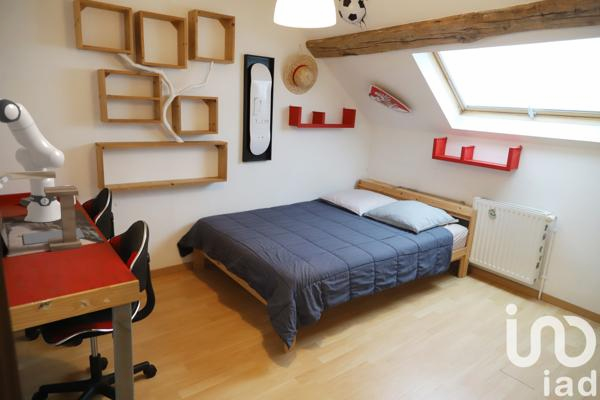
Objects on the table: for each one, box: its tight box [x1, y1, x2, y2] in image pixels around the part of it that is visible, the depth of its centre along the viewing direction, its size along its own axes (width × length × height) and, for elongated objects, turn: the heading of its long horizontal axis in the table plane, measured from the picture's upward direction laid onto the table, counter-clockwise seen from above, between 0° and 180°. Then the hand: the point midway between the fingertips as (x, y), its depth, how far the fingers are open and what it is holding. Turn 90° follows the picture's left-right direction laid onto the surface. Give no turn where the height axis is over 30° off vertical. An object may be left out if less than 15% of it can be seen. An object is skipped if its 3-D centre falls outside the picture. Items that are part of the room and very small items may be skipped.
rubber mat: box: [22, 227, 85, 246], centre depth 196 cm, size 16×24×1 cm, turn 125°
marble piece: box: [19, 196, 31, 208], centre depth 248 cm, size 17×15×4 cm
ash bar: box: [1, 170, 57, 181], centre depth 185 cm, size 3×20×3 cm, turn 125°
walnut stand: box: [44, 185, 83, 252], centre depth 183 cm, size 12×12×26 cm
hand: (11, 174), depth 181 cm, fingers closed on ash bar, 3 cm apart
